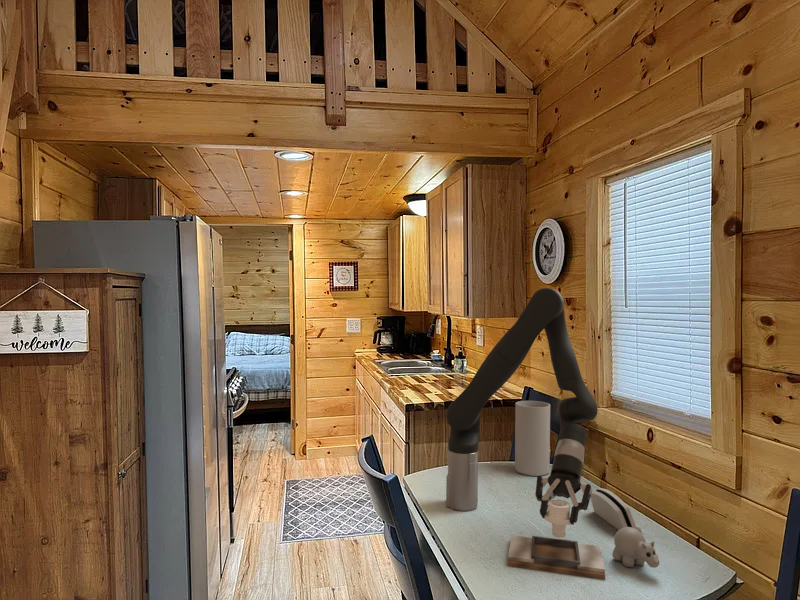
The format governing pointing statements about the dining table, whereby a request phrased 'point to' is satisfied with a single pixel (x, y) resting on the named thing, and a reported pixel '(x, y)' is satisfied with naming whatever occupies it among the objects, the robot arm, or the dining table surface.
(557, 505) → the pipe fitting
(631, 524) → the white striped curved block
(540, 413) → the cylinder vase
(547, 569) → the base
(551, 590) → the dining table surface
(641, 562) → the chubby cartoon animal
